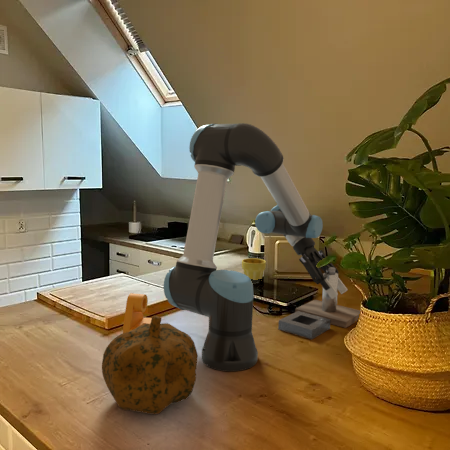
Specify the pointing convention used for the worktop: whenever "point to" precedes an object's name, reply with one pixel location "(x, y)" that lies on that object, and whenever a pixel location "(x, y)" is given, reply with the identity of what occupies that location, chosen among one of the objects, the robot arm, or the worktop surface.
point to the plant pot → (253, 268)
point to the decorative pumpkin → (150, 367)
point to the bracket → (135, 312)
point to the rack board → (331, 313)
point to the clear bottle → (327, 302)
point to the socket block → (304, 324)
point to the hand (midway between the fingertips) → (339, 294)
